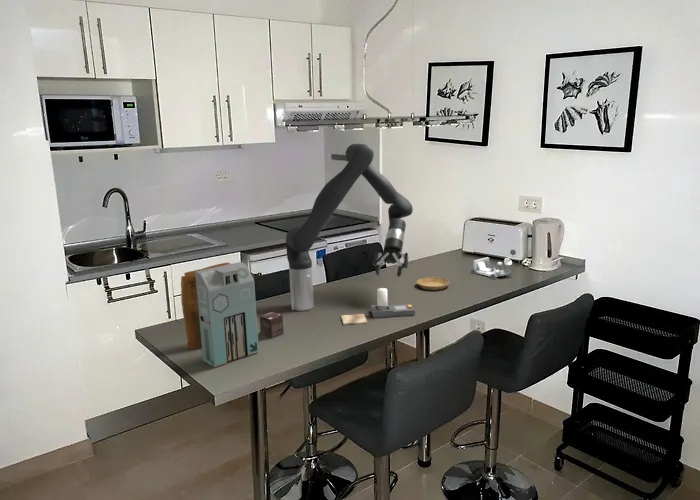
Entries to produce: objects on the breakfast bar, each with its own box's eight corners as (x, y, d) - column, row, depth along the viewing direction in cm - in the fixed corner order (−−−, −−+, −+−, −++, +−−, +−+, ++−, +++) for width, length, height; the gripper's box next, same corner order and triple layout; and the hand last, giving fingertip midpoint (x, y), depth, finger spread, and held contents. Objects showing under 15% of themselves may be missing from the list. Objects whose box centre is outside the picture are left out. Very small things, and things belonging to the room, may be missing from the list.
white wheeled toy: (516, 257, 265) (500, 261, 259) (515, 277, 267) (499, 281, 261) (487, 251, 280) (471, 254, 273) (486, 270, 282) (470, 274, 275)
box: (272, 330, 207) (271, 311, 205) (284, 333, 203) (283, 314, 201) (260, 335, 202) (259, 315, 200) (271, 338, 198) (270, 319, 197)
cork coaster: (343, 324, 210) (343, 323, 210) (341, 316, 218) (341, 315, 218) (367, 323, 211) (367, 321, 211) (363, 315, 219) (363, 313, 219)
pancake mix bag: (240, 339, 198) (234, 263, 192) (188, 353, 187) (180, 273, 181) (232, 334, 203) (226, 259, 197) (181, 347, 192) (173, 269, 186)
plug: (378, 315, 219) (377, 291, 216) (376, 312, 223) (376, 288, 220) (388, 315, 219) (388, 290, 217) (386, 311, 223) (386, 287, 221)
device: (215, 368, 175) (207, 276, 169) (203, 361, 181) (194, 271, 174) (259, 353, 186) (253, 265, 179) (246, 346, 192) (240, 261, 185)
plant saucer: (439, 293, 245) (439, 288, 244) (410, 288, 254) (410, 282, 253) (455, 285, 256) (455, 280, 256) (426, 280, 265) (426, 275, 265)
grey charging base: (374, 317, 216) (374, 311, 216) (370, 311, 224) (370, 304, 224) (414, 315, 218) (414, 308, 218) (410, 308, 226) (410, 302, 225)
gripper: (376, 236, 233) (369, 269, 225) (409, 237, 229) (403, 271, 221) (379, 245, 240) (372, 278, 232) (412, 247, 235) (406, 280, 227)
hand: (387, 275), depth 226 cm, fingers open, 8 cm apart
